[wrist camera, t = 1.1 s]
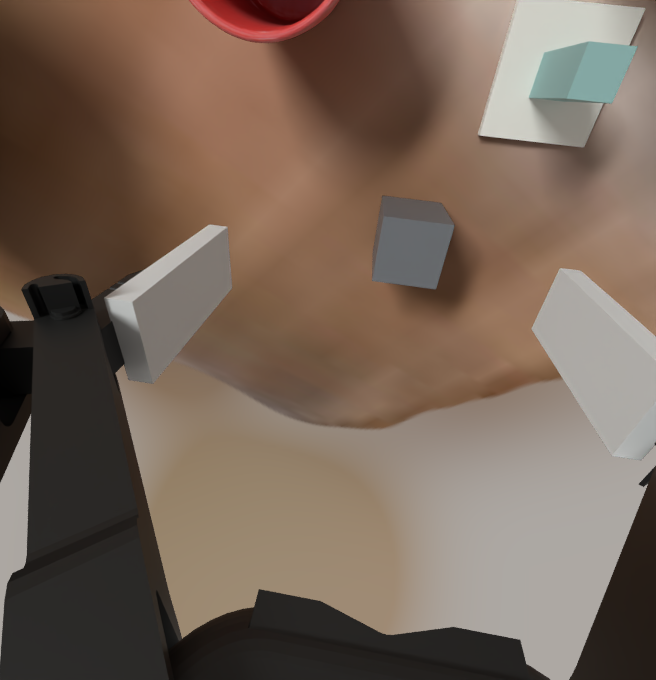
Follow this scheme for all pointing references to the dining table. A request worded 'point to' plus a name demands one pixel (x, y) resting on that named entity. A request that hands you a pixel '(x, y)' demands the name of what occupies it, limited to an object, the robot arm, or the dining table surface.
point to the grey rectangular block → (411, 242)
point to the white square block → (559, 70)
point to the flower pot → (265, 17)
